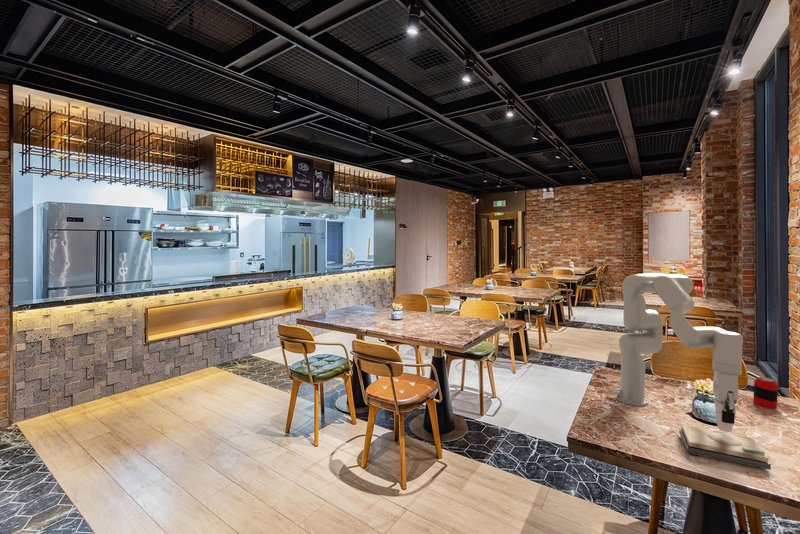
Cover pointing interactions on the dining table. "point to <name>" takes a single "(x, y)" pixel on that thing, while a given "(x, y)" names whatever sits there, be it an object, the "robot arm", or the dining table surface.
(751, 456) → the stand top
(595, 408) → the dining table surface
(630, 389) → the robot arm
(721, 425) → the smoothie
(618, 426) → the dining table surface
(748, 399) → the dining table surface
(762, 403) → the soda can
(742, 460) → the stand base
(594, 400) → the dining table surface
